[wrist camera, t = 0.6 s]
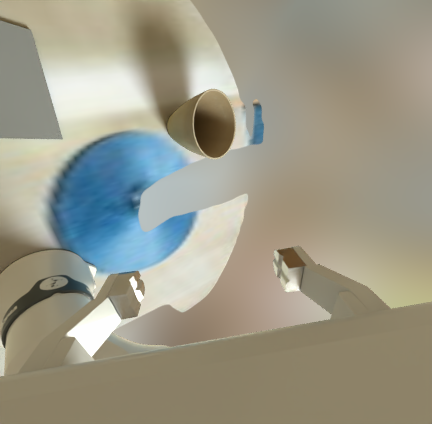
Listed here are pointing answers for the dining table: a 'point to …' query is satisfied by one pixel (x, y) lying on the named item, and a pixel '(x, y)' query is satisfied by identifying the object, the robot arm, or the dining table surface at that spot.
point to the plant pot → (204, 124)
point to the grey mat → (23, 88)
